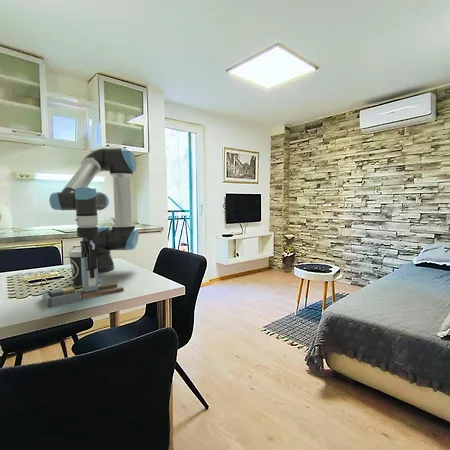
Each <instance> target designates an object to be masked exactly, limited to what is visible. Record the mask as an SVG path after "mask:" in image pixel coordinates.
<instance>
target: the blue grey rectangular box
mask: <svg viewBox="0 0 450 450" xmlns="http://www.w3.org/2000/svg"><path fill="white" fill-rule="evenodd" d="M86 269H88V262H87V257H82V258H81V270H82V285H81V286H82V289H81V290H84V291H85V292H88V291H92V290H97V289H99V287H100V285H99V272H98V264H97V269H95V276H96V285H95V286H88V273H87V270H86Z"/></svg>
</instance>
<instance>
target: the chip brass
mask: <svg viewBox="0 0 450 450" xmlns="http://www.w3.org/2000/svg"><path fill="white" fill-rule="evenodd" d="M62 290H63V291H64V295H67V294H73V293H76V288H75V287H74V286H73V287H72V286H67V288H66V287H62Z"/></svg>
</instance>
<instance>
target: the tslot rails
mask: <svg viewBox="0 0 450 450" xmlns="http://www.w3.org/2000/svg"><path fill="white" fill-rule="evenodd" d="M124 290H125V289H124V287H123V286H121V287H118V283H112V284H108V285H107V284H106V285H101V286H100V285H99V289H97V290H92V291H88V292H85V291H84V290H83V289H78V290H76V293H78V292H80V294H81V299H82V300H85V299H90V298H95V297H96V298H97V297H100V296H104V295H110V294H114V293H119V292H124Z"/></svg>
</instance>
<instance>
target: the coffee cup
mask: <svg viewBox="0 0 450 450" xmlns="http://www.w3.org/2000/svg"><path fill="white" fill-rule="evenodd" d="M68 257H69V262H70V270H71V275H72V276H71V277H72V282H73V285H74V286H75V285H76V286H80V285H81V286H82V270H81V258H82V256H81V248H79V249H72V250H70V251H69V253H68Z"/></svg>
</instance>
